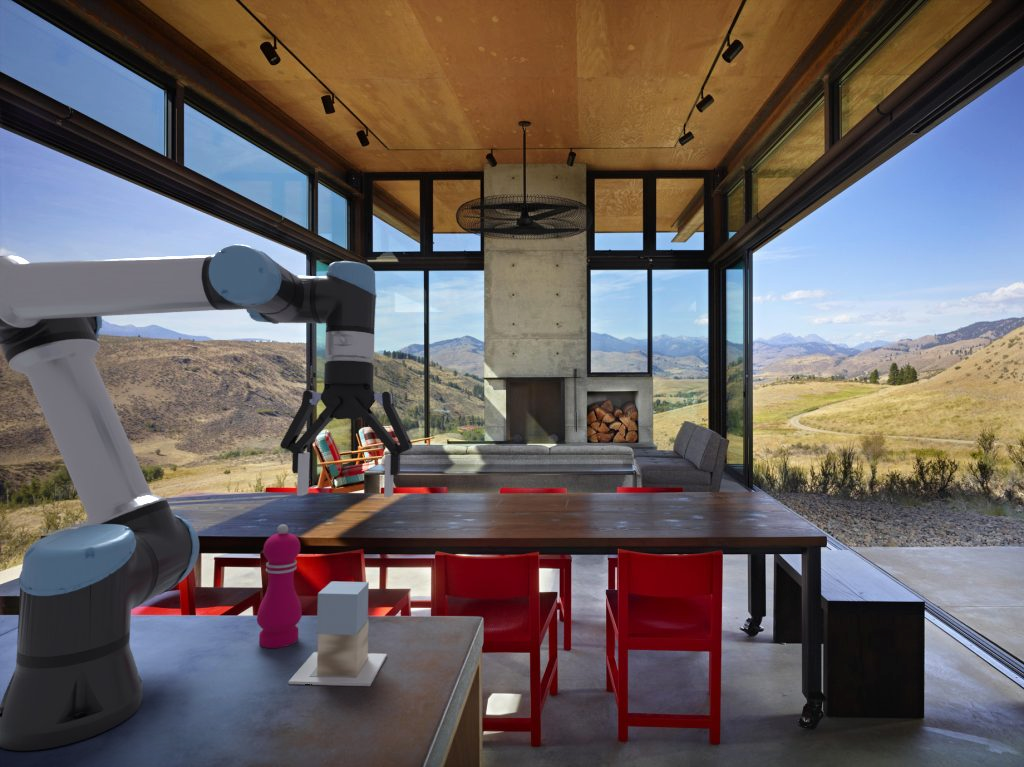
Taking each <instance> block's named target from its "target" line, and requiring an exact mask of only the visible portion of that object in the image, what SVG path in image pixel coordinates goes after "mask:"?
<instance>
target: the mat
mask: <svg viewBox="0 0 1024 767" xmlns="http://www.w3.org/2000/svg"><path fill="white" fill-rule="evenodd" d="M317 655H318V651H314V652H312V654H310V656H309V657H308V658H307V659H306V660H305V661H304V663H303V664H302V665H301V667H300V668H298V670H297V671H296V672H295V673H294V675H292V677H291V678H290V679H289V680H288V685H305V684H310V686H311V684H312V685H313V686H317V685H318V686H346V687H347V686H348V687H349V686H350V687H351V686H353V687H371V685H372V683H373V682H374V680H375V678H376V676H377V674H378V673H379V670H380V669H381V668H382V666H383V663H384V662H385V660H386V658H387V657H388V656H387V653H375V652H374V653H371V652H370V653H369V652H368V658H367V660H366V662H365V663H364V665H363V666H362V668H361V670H360V671H359V673H358V675H357V676H346V675H317Z"/></svg>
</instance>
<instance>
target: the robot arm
mask: <svg viewBox="0 0 1024 767" xmlns="http://www.w3.org/2000/svg"><path fill="white" fill-rule="evenodd" d="M376 289H377V288H376V272H375V270H374V269H373V268H372V267H371V266H370V265H367V264H365V263H361V262H357V261H347V260H343V261H342V260H341V261H334V262H332V263H329V265H328V267H327V271H326V274H325V275H321V276H319V275H316V276H313V275H312V276H311V275H295V274H294V273H292V272H290V271H289V270H288V269H286V268H285V267H283V266H282V265H281V264H279V263H278V262H276V261H275V260H274V259H273V258H271V257H270V256H269V255H268V254H267V253H265V252H263V251H262V250H258V249H257V248H253V246H249V245H246V244H231V245H228V246H225V247H224V248H222V249H220V250H219V251H217V252H216V253H215V254H209V255H208V254H207V255H206V254H205V255H187V256H186V255H185V256H164V257H162V256H160V257H158V256H157V257H139V258H138V257H136V258H135V257H134V258H111V259H89V260H88V259H87V260H60V261H43V262H37V261H36V262H30V261H27V260H26V259H24V258H22V257H20V256H15V255H0V348H1V351H2V354H3V356H4V357H5V359H6V362H7V364H8V365H7V366H8V367H9V368H10V369H11V370H13V371H15V372H18V373H21V374H23V375H26V376H27V379H28V381H29V383H30V386H31V388H32V390H33V394H34V395H35V397H36V400H37V402H38V404H39V406H40V409H41V411H42V414H43V416H44V418H45V421H46V424H47V425H48V426H47V427H48V428H49V430H50V432H51V434H52V437H53V439H54V441H55V444H56V446H57V449H58V451H59V453H60V456H61V458H62V460H63V463H64V465H65V467H66V469H67V472H68V475H69V476H70V479H71V480H72V483H73V486H74V488H75V492H76V493H77V495H78V498H79V500H80V502H81V504H82V507H83V510H84V512H85V514H86V516H87V519H86V522H85V523H84V526H83V525H82V526H79V527H78V528H73V529H70V528H68V529H65V530H61V531H57V532H55V533H52V534H49V535H47V536H44V537H42V538H40V539H39V540H37V541H35V542H34V543H32V544H31V545H30V546H29V547H28V548H27V550H26V551H25V553H24V555H23V559H22V560H23V561H22V568H21V571H20V574H19V578H18V584H19V603H18V622H17V624H18V626H17V641H16V643H17V644H16V645H17V646H16V658H15V659H16V661H15V668H14V670H13V673H12V676H11V677H10V681H9V682H8V684H7V687H6V690H5V692H4V693H3V697H2V700H1V701H0V748H2V749H5V750H10V751H20V752H21V751H39V750H46V749H53V748H58V747H61V746H66V745H69V744H74V743H77V742H80V741H83V740H86V739H89V738H92V737H95V736H97V735H99V734H102V733H105V732H106V731H108V730H111V729H113V728H114V727H116V726H118V725H120V724H122V723H123V722H124V721H126V720H128V719H129V718H130V717H131V716H133V714H135V713H136V712H137V711H139V708H140V707H141V706H142V703H143V686H144V685H143V680H142V679H141V677H140V675H139V672H138V668H137V664H136V661H135V658H134V656H133V652H132V649H131V646H130V645H131V644H130V638H131V620H132V619H131V617H132V610H133V609H136V608H137V607H140V606H141V605H143V604H144V603H147V602H148V601H150V600H152V599H154V598H155V597H158V596H160V595H162V594H164V593H166V592H168V591H171V590H172V589H173V588H175V587H176V586H177V585H178V584H179V583H181V582H182V581H183V580H184V579H185V578H186V577H188V575H189V574H190V573H191V571H192V570H193V569H194V567H195V565H196V562H197V561H198V558H199V555H200V554H199V553H200V539H199V536H198V532H197V531H196V529H195V527H194V526H193V525H192V523H191V522H190V521H189V520H187V518H183V517H181V516H179V515H177V514H173V511H172V509H171V507H170V504H169V502H168V499H167V498H166V497H164V496H160V495H157V494H154V493H153V492H151V489H150V487H149V484H148V482H147V480H146V478H145V476H144V473H143V471H142V468H141V465H140V464H139V461H138V459H137V457H136V455H135V452H134V450H133V448H132V445H131V443H130V441H129V438H128V437H127V433H126V431H125V429H124V426H123V425H122V422H121V420H120V418H119V415H118V414H117V410H116V408H115V406H114V404H113V401H112V399H111V397H110V394H109V392H108V389H107V387H106V386H105V382H104V381H103V379H102V376H101V374H100V372H99V369H98V367H97V366H98V365H97V364H96V362H95V359H94V358H95V356H96V355H97V354H98V352H99V351H100V350H101V349H100V348H101V345H100V343H99V340H98V339H99V336H100V329H102V328H103V317H107V316H108V317H109V316H125V315H127V316H128V315H129V316H130V315H131V316H132V315H147V314H166V313H185V312H202V311H203V312H205V311H231V310H232V311H234V310H245V311H246V313H247V314H249V317H250V318H251V319H252V320H253V321H255V322H259V323H271V324H272V325H275V324H277V325H278V324H321V325H322V324H325V348H324V349H325V350H324V354H325V355H324V356H325V358H326V359H328V360H327V361H326V362H325V363H324V372H323V373H324V374H323V375H324V377H323V386H324V387H323V390H322V392H316V391H315V390H310V389H309V390H308V389H307V390H304V391H303V393H302V399H301V404H300V407H299V408H298V410H297V412H296V414H295V416H294V417H293V419H292V421H291V424H290V426H288V429H287V430H286V433H285V434H284V437H283V439H282V440H281V442H280V448H281V449H285V450H288V451H290V452H291V455H292V462H291V466H292V467H291V470H292V474H297V478H296V479H297V484H296V496H297V497H302V496H305V495H308V494H309V488H310V486H309V484H310V482H309V481H310V458H311V453H310V452H306V451H307V450H306V449H307V448H308V447H309V446H310V445H311V444H312V442H314V440H315V439H316V438H317V437H318V435H320V434H321V432H322V431H324V429H325V428H326V427H327V426H328V424H330V422H331V421H333V420H334V419H335V420H346V419H348V420H353V421H355V420H361V419H362V420H363V422H364V423H366V424H367V425H368V427H369V428H370V430H371V431H372V432H373V433H374V434H375V435H376V437H377V438H378V439H379V441H380V443H382V444H383V446H384V447H385V448H386V449H387V450H388V451H389V453H388V454H385V455H384V483H383V484H384V487H383V488H384V489H383V492H384V493H383V498H391V497H392V496H393V495H394V476H398V475H399V474H400V473H401V472H400V471H401V454H403V453H404V452H407V451H410V450H411V449H413V443H412V441H411V439H410V437H409V434H408V433H407V431H406V430H407V429H405V427H404V424H403V422H402V419H401V417H400V416H399V413H398V412H397V411H398V410H397V409H396V407H395V403H394V402H395V401H394V394H393V392H391V391H383V392H378V393H375V391H374V372H375V371H374V370H375V368H374V367H375V366H374V364H373V363H372V362H371V361H372V360H374V358H375V327H376V326H375V324H376V306H377V305H376V304H377V297H378V296H377V293H376V292H377V291H376ZM320 401H321V402H322V403H323V405H324V406H325V408H324V409H323V410H322V411H321V412H320V414H319V415H318V418H316V420H315V421H314V422H313V423H312V424H311V425H310V427H308V428H307V429H306V431H305V432H304V433H303V435H301V433H302V431H303V429H304V427H305V425H306V424H307V422H308V419H309V418H310V416H311V415H312V412H313V410H314V408H315V406H317V405H318V404H319V402H320ZM376 401H377V403H378V405H379V406H380V407H383V411H384V413H385V415H386V417H387V419H388V422H389V424H390V426H391V428H392V430H393V433H394V435H395V437H396V438H397V441H398V443H399V444H398V443H397V442H396V440H395V438H393V436H392V435H391V434H390V433H389V431H388V430H387V429H386V428H385V426H384V425H383V424H382V423H381V422H380V419H378V418H377V415H375V413H374V412H373V410H371V407H372V406H373V405H374V404H375V403H376ZM300 435H301V436H300Z"/></svg>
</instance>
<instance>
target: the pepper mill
mask: <svg viewBox="0 0 1024 767" xmlns="http://www.w3.org/2000/svg"><path fill="white" fill-rule="evenodd" d="M276 530H277V533H275V534H273V535H271V536H270V537H268V538H267V539H266V540H265V542H264V544H263V551H262V552H263V556H264V558H265V559H266V560H267V561H268V562H266V563H265V567H266V568H265V572H266V573H267V575H268V576H267V577H268V579H267V580H268V583H267V588H266V592H265V594H264V596H263V598H262V601H261V602H260V604H259V607H258V611H257V613H256V614H257V615H256V622H257V624H258V626H259V627H260V628H261V629H262V630H260V632H259V636H258V639H259V640H258V644H259V645H260V647H262V648H267V649H278V648H279V647H280V648H285V647H288V646H291V645H292V643H293V644H295V643H296V642H297V641H298V639H299V627H298V626H297V625H298V624H299V622H300V620H301V619H302V617H303V616H302V615H303V612H302V610H303V609H302V608H303V607H302V604H301V601H300V599H299V597H298V595H297V592H296V589H295V584H294V575H295V571H296V570H297V568H298V567H297V563H298V561H297V560H296V558H297V557H298V556H299V554H300V552H301V541H300V540H299V538H298V537H297V536H296V535H294V533H293V534H292V533H291V532H290V533H289V532H288V531H289V527H288V525H287V524H284V523H283V524H282V523H281V524H280V525H278V526H277V528H276ZM295 641H296V642H295ZM294 642H295V643H294ZM290 644H291V645H290ZM284 646H285V647H284ZM280 648H279V649H280Z"/></svg>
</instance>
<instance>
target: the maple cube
mask: <svg viewBox="0 0 1024 767" xmlns="http://www.w3.org/2000/svg"><path fill="white" fill-rule="evenodd" d="M369 621H370V620H369V619H368V620H367V622H366V623H365V624H364V626H363V627H362V628H361V630H360V631H359V632H358V633H357V635H337V634H317V652H318V655H317V675H346V676H357V675H358V673H359V671H360V670H361V668H362V666H363V665H364V663H365V662H366V660H367V658H368V653H369V652H368V651H369V623H370V622H369Z"/></svg>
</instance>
